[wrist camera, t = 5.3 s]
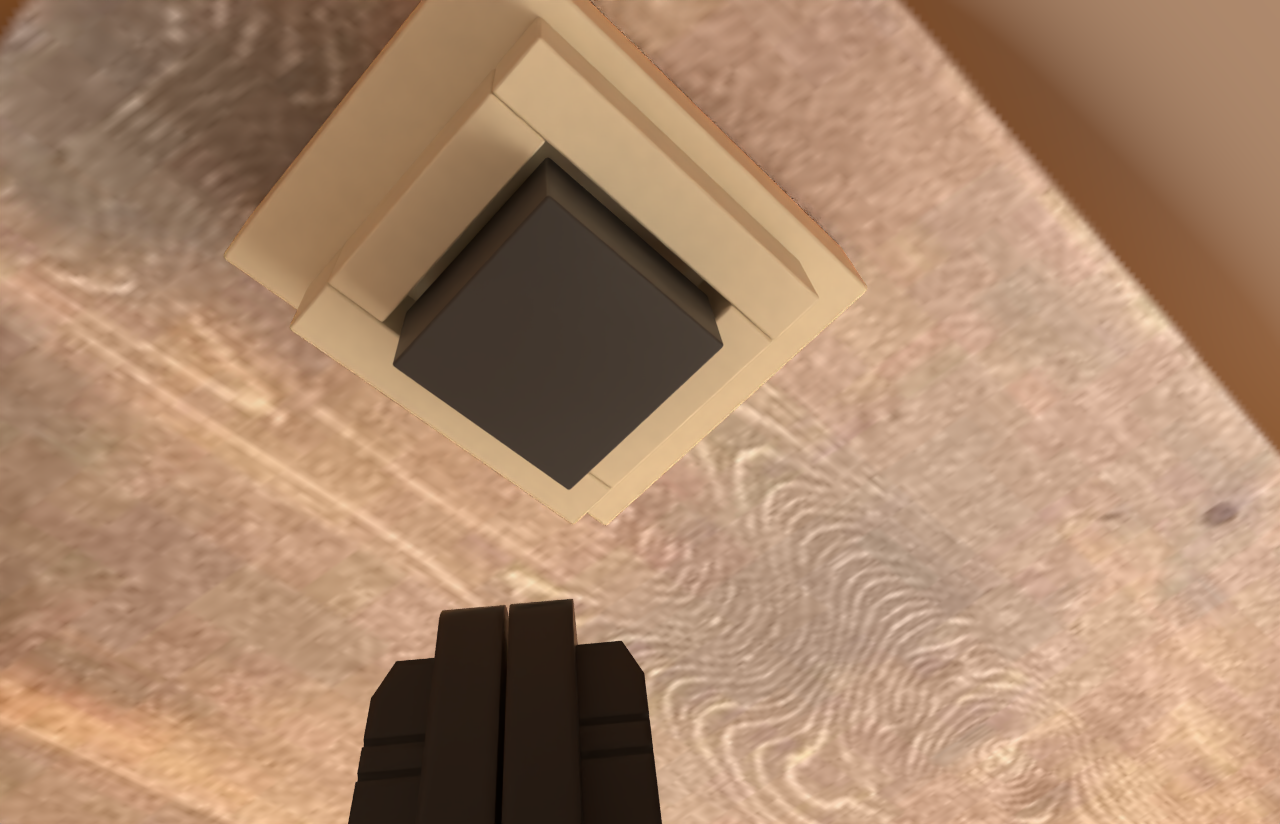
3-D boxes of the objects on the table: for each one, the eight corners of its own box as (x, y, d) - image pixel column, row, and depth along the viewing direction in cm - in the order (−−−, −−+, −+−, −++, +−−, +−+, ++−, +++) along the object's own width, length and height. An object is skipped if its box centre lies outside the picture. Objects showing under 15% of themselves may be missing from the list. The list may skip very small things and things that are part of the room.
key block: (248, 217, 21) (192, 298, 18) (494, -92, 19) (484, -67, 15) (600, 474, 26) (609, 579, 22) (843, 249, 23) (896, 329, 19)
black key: (404, 312, 19) (390, 366, 17) (547, 154, 18) (547, 195, 16) (566, 432, 21) (569, 492, 19) (708, 295, 19) (725, 346, 18)
